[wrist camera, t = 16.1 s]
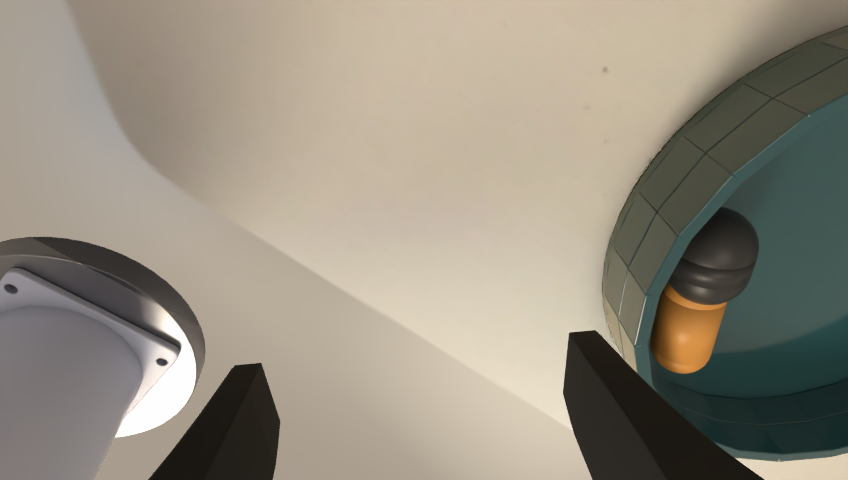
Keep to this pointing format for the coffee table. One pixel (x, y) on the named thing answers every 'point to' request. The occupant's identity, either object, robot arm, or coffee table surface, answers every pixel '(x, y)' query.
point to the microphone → (703, 291)
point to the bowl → (775, 266)
